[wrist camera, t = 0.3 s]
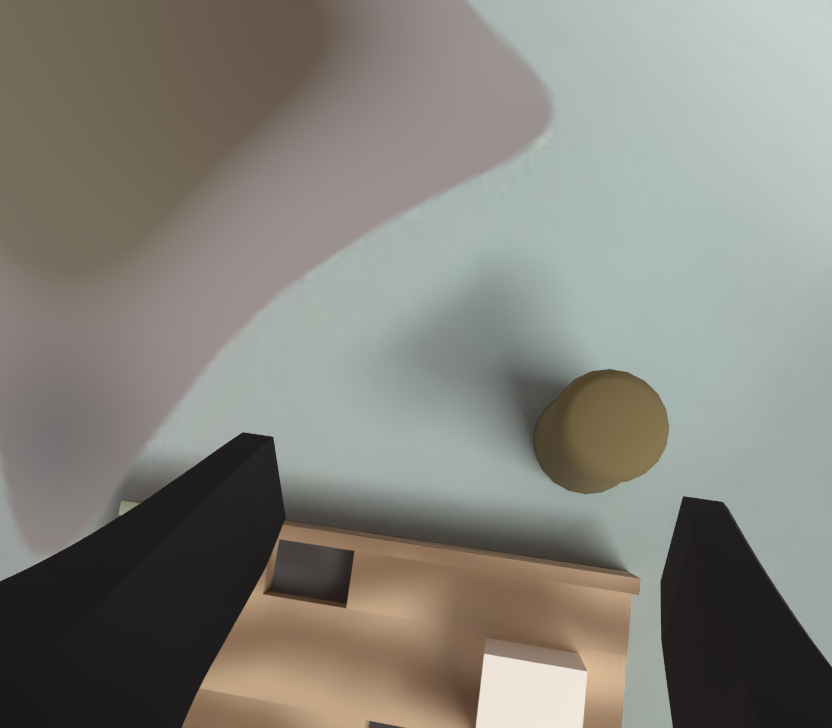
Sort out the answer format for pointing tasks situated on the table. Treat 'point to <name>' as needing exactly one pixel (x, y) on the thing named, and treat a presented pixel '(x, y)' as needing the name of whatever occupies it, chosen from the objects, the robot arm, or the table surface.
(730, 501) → the table surface
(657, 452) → the cork
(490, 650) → the block
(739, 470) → the table surface
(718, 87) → the table surface
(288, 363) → the table surface
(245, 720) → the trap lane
